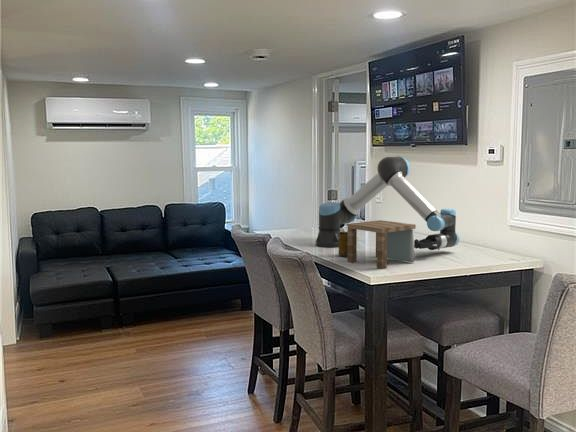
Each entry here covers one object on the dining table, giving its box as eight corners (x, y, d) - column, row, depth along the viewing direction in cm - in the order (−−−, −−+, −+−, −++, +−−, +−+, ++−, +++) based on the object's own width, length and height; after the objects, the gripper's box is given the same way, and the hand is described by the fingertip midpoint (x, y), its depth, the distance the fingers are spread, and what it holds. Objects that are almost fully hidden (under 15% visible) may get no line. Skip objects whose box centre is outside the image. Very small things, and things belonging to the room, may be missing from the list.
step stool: (381, 269, 243) (382, 228, 241) (347, 261, 260) (347, 223, 258) (414, 263, 256) (415, 224, 254) (379, 256, 273) (380, 220, 271)
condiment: (343, 254, 280) (343, 230, 279) (357, 256, 275) (357, 232, 273) (334, 256, 275) (334, 232, 274) (348, 258, 269) (348, 233, 268)
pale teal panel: (412, 262, 255) (413, 230, 253) (385, 258, 265) (385, 227, 263) (414, 261, 256) (415, 229, 254) (387, 257, 266) (387, 227, 265)
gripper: (446, 251, 269) (415, 256, 255) (424, 247, 279) (393, 252, 265) (446, 235, 268) (415, 240, 254) (424, 232, 278) (393, 237, 264)
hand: (404, 246), depth 259 cm, fingers closed
